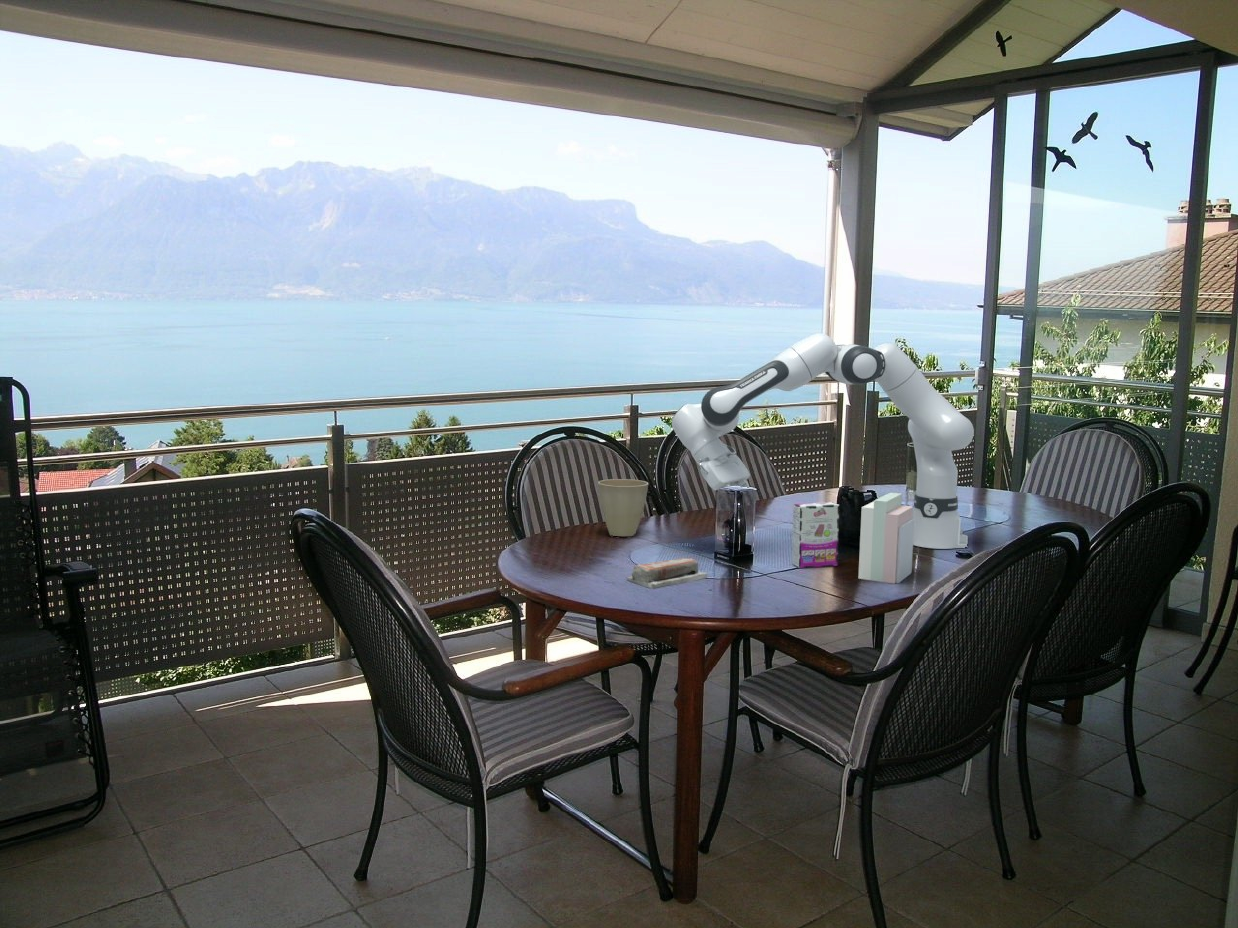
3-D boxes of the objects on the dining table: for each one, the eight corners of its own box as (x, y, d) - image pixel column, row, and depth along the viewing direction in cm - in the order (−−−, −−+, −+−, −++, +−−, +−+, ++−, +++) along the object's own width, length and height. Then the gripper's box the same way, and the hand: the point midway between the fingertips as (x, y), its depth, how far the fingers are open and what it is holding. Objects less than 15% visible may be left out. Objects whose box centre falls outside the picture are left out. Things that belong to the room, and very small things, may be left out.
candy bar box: (829, 562, 257) (831, 501, 255) (838, 566, 252) (840, 504, 250) (790, 564, 254) (792, 502, 252) (798, 568, 249) (801, 506, 247)
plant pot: (647, 541, 280) (648, 486, 278) (596, 540, 281) (597, 486, 278) (647, 530, 295) (648, 478, 293) (598, 529, 295) (599, 478, 293)
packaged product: (651, 570, 228) (626, 562, 236) (651, 590, 228) (625, 582, 236) (708, 560, 238) (682, 553, 246) (708, 579, 239) (681, 571, 247)
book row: (875, 567, 252) (878, 491, 249) (912, 572, 247) (916, 495, 244) (858, 578, 240) (862, 499, 237) (897, 584, 235) (901, 503, 232)
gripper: (705, 452, 254) (736, 494, 250) (735, 447, 271) (765, 485, 268) (688, 467, 257) (719, 509, 253) (719, 460, 274) (749, 499, 271)
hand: (743, 497), depth 261 cm, fingers open, 8 cm apart
